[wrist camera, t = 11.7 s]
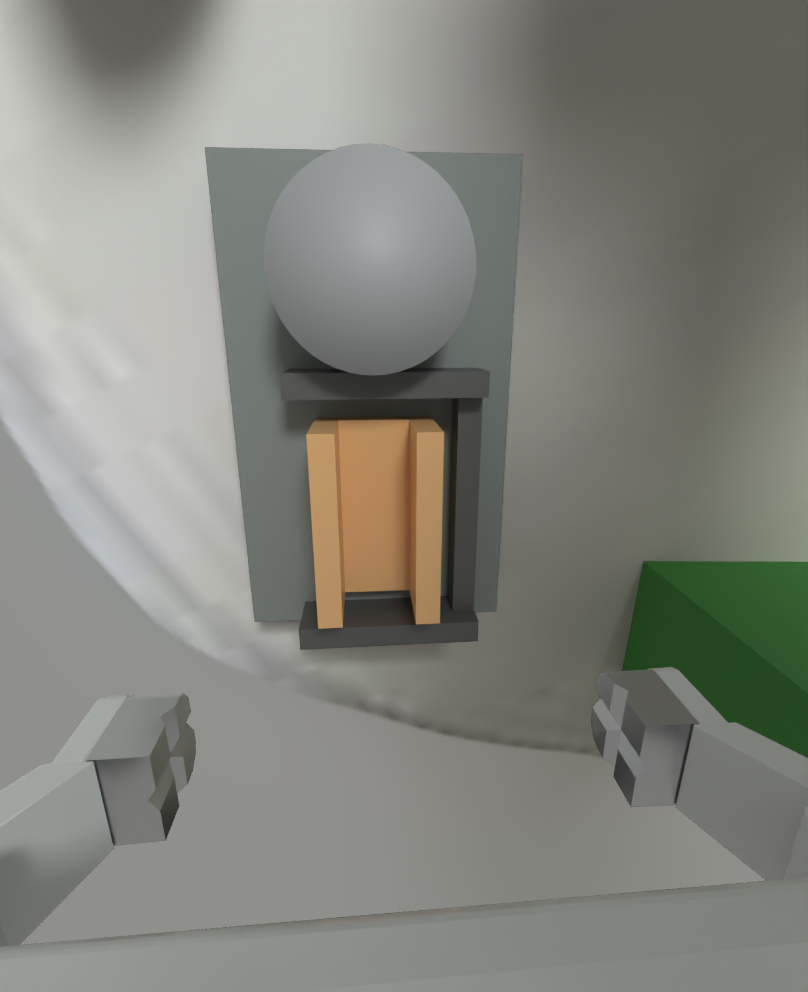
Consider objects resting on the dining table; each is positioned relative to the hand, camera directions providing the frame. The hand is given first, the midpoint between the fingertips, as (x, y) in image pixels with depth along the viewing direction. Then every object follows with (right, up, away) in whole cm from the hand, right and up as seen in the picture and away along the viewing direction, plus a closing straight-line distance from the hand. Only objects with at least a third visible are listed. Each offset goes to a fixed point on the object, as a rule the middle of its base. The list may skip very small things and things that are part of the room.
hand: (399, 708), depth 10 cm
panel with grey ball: (-2, +9, +15) cm, 17 cm away
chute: (-1, +4, +13) cm, 14 cm away
